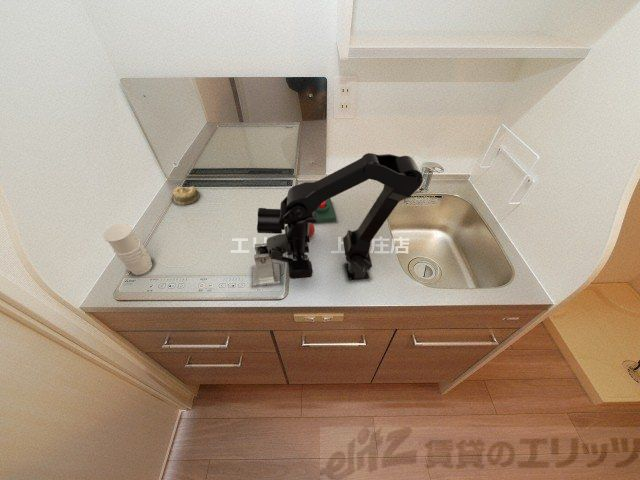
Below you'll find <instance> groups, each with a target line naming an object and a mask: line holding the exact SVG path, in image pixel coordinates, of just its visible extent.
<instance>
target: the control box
mask: <svg viewBox="0 0 640 480" xmlns="http://www.w3.org/2000/svg"><path fill="white" fill-rule="evenodd" d="M331 199H332V198H330V199H328V200H326V201H325V202H326V203H325V207H324V208H318V209H317V210H316V211H315V212H316V213H317V223H316V224H324V223H325V224H327V223H337V216H336V213H335V209H334V206H333V202H332V200H331ZM312 224H313V225H314V223H312Z"/></svg>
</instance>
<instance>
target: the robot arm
mask: <svg viewBox="0 0 640 480" xmlns="http://www.w3.org/2000/svg"><path fill="white" fill-rule="evenodd" d="M369 180H371V181H375V182H376V181H377V182H378V183H380V184H383V188H382V190H381V192H380V194H379V195H378V197H377V198H376V200H375V202H374V203H373V205H371V208H370V209H369V211H368V212H367V214H366V215H365V217H364V218H363V221H362V222H361V223H360V225H359V226H358V228H357V229H355V230H350V229H348V230H347V232H346V234H345V236H343V237H342V242H343V243H342V244H343V249H344V255H345V261H346V262H347V263H344V268H345V272H346V275H347V279H348V281H360V280H361V281H362V280H369V279H370V276H369V272H368V271H370V270H371V269H372V268H373V264H372V258H371V254H370V249H371V243H372V241H373V239H374V238H375V237H376V236H377V234H378V232H379V231H380V229H381V228H382V227H383V226H384V224H385V222H386V221H387V219H388V218H389V217H390V216H391V214H393V213H392V212H393V211H394V210H395V209H396V207H397V206H398V204H399V203H400V202H402V201H404V200H406V199H409V198H410V197H412V195H413V194H414V193H415V192H416V191H418V189H419V188H420V187H421V186H422V184H423V181H424V177H423V174H422V172H421V170H420V169H419V166H418V165H417V163H416V161H415V160H414V158H413V157H411V156H409V155H401V156H399V155H395V154H391V153H387V154H376V153H372V152H368V153H365V154H363V155H362V157H361V158H359V159H357V160H355V161H353V162H350V163H349V164H347V165H345V166H344V167H341V168H340V169H338V170H336V171H334V172H332V173H330V174H328V175H326V176H324V177H322V178H320V179H318V180H316V181H311V182H310V181H309V182H308V181H305V182H302V183H299V184H296V185H293V186H292V187H290V188H289V189H288V191H287V194H286V195H287V196H285V197H284V198H283V199H282V200H281V202H280V206H279V208H265V207H258V209H257V225H256V232H257V234H275V235H272V236H270V237H268V238H267V239H266V243H267V250H268V253H269V257H272V258H273V260H274V259H278V258H281V257H284V254H286V256H292V258H291V259H288V263H287V265H288V267H287V269H288V278H289V279H291V280H297V279H308V278H312V277H313V275H314V270H313V263H312V261H311V260H310V258H309V257H308V255H307V253H310V248H309V247H310V246H309V243H310V242H311V237H310V238H309V223H313V224H318V223H317V213H316V212H315V211H316V210H317V209H318V208H319V206H320V205H321V204H322V203H323V202H324V201H326V200H328V199H330V198H331V199H332V198H333V197H336V196H338V195H340V194H342V193H344V192H346V191H348V190H350V189H352V188H354V187H356V186H359V185H360V184H362V183H365V182H366V181H369ZM283 231H284V233H283Z"/></svg>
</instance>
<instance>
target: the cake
mask: <svg viewBox="0 0 640 480" xmlns="http://www.w3.org/2000/svg"><path fill="white" fill-rule="evenodd" d="M172 196H173V202H174V203H175V204H177V205H179V206H186V205H191V204H193V203H195V202H196V201H197V200H198V199H199V198H200V196H201V195H200V192H199V191H198V189H197V188H196V187H195V186H194V185H192V186H190V187H189V188H188V187H187V188H186V187H184V186H176V188H174V189H173V190H172Z"/></svg>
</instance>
